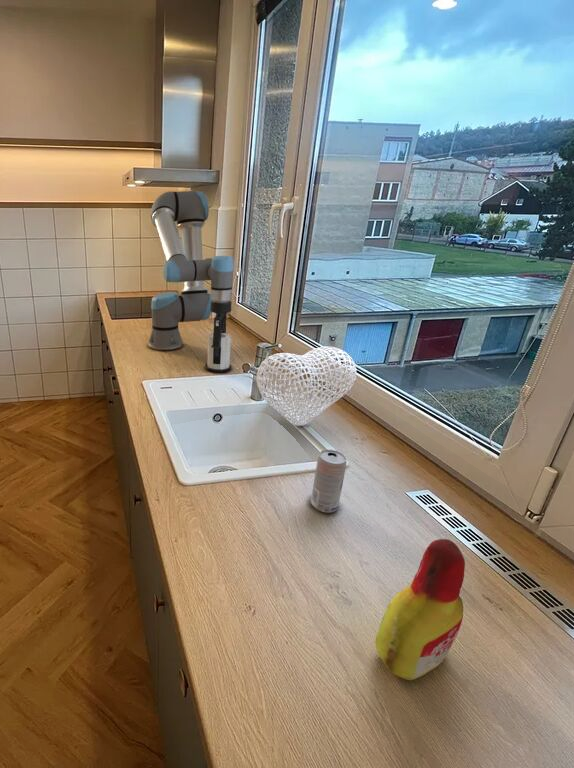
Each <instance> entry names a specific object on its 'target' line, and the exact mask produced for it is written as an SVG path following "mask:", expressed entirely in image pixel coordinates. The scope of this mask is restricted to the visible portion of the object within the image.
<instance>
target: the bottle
mask: <svg viewBox="0 0 574 768" xmlns="http://www.w3.org/2000/svg"><path fill="white" fill-rule="evenodd" d="M465 561H466V560H465V557H464V554H463V552H462V551H461V549H460V547H458V545H457V544H456V543H455V542H454V541H452V540H451V539H447V538H440V539H435V540H433V541H431V543H430V544H429V545H428V546H427V547H426V549H425V550H424V553H423V555H422V558H421V561H420V563H419V567H418V569H417V572H416V573H415V574H414V577H413V580H412V581H411V583H410V584H409V585H408V586H406V587H405V588H404V589H402V590H401V591H399V592H398V593H396V594H395V595H394V597H393V598H392V599H391V601H389V603H388V605H387V607H386V609H385V612H384V614H383V616H382V619H381V622H380V624H379V627H378V630H377V634H376V636H375V641H374V644H375V649H376V652H377V654H378V656H379V658H380V659H381V661H382V662H383V663H382V664H383V665H384V666H385V667H386V668H387V669H388V671H390V672H391V674H393V675H395V676H397V677H399V678H401V679H403V680H407V681H412V680H416V679H419V678H420V677H422V676H424V675H426V674H427V673H429V672H430V671H432V670H433V669H435V668H437V667H438V666H439V665H440V664H441V663H442V662H443V661H444V659H445V658H446V656H447V655H448V654H449V652H450V650H451V649H452V646H453V644H454V642H455V640H456V638H457V636H458V634H459V631H460V629H461V626H462V622H463V618H464V603H463V600H462V597H461V596H460V594H461V589H462V587H463V583H464V579H465V570H466V562H465Z"/></svg>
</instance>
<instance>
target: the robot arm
mask: <svg viewBox="0 0 574 768" xmlns="http://www.w3.org/2000/svg"><path fill="white" fill-rule="evenodd" d="M209 207H210V206H209V201H208V198H207V196H206V194H205V193H204V192H203V191H196V190H188V191H187V190H181V191H171V190H170V191H169V190H168V191H166V192H163V193H162V194H159V196H158V197H157V198H156V199H155V200H154V201H153V204H152V206H151V209H150V220H151V223H152V225H153V226H154V227H155V228H156V230H157V234H158V238H159V241H160V244H161V248H162V251H163V255H164V258H165V262H164V263H163V278H164V281H165V282H166V283H183V288H182V289H181V291H180V294H181V295H179V293H178V292H176V291H167V292H161V293H158V294H156V295H154V296H153V297H152V298H151V306H150V309H151V332H150V336H149V339H148V347H149V348H150V349H152V350H153V351H154V350H155V351H162V352H168V351H174V350H175V351H176V350H178V349H181V348H182V347H183V339H182V336H181V333H180V330H179V323H189V322H201V321H207V320H208V319H210V317H211V315H212V313H214V314H215V317H214V318H213V332H212V333H213V345H212V346H211V347H212V348H213V364H220V363H221V337H222V333H227V314H229V313H230V312H231V311H232V296H233V295H234V291H233V281H234V280H233V279H234V267H235V266H234V258H233V257H232V256H230V255H216V256H215V255H214V256H213V257H210V258H209V257H207V258H205V259H203V242H202V241H203V240H202V239H203V237H202V228H203V227H204V226H205V222H206V221H207V220H208V219H209V216H210V215H209V212H210V208H209ZM178 229H179V230H180V232H181V234H179V232H178ZM180 235H181V237H180ZM205 281H210V293H209V291H208V288H207V287H206V286H205V285H204V284H205Z"/></svg>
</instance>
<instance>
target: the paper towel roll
mask: <svg viewBox="0 0 574 768" xmlns="http://www.w3.org/2000/svg"><path fill="white" fill-rule="evenodd" d="M212 345H213V332H212V333H209V334H208V335H207V359H206V360H207V362H206V364H207V366H208V367H209V368H212V369H217V370H219V369H220V370H222V369H227V368H229V366H230V364H231V353H232V352H231V349H232V334H229V333H227V332H226V333H222V337H221V363H220V364H213V348H212V347H211V346H212Z"/></svg>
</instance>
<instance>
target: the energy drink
mask: <svg viewBox="0 0 574 768" xmlns="http://www.w3.org/2000/svg"><path fill="white" fill-rule="evenodd" d="M346 468H347V456H346V455H344V453H342V452H340V451H338V450H334V449H324V450H321V451H320V452H319V455H318V456H317V461H316V468H315V473H314V479H313V484H312V485H313V486H312V492H311V499H310V503H311V505H312V507H314V509H316V510H317V511H319V512H322V513H326V514H331V513H335V512H336V511H337V510H338V508H339V504H340V500H341V494H342V489H343V485H344V479H345V474H346Z"/></svg>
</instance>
